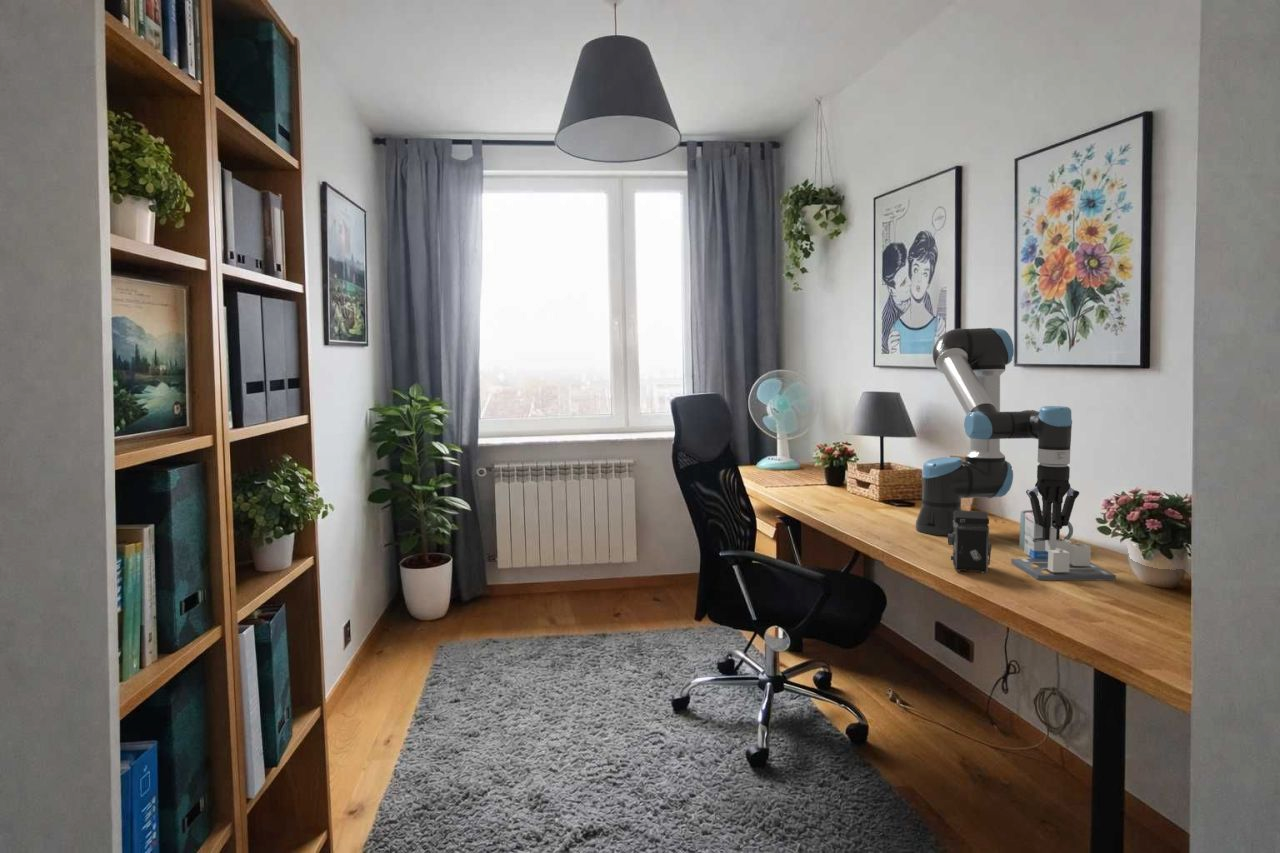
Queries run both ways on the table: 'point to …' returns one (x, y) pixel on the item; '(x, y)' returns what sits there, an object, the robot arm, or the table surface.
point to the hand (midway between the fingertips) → (1050, 551)
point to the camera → (970, 541)
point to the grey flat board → (1041, 572)
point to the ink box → (1034, 538)
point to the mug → (1022, 528)
